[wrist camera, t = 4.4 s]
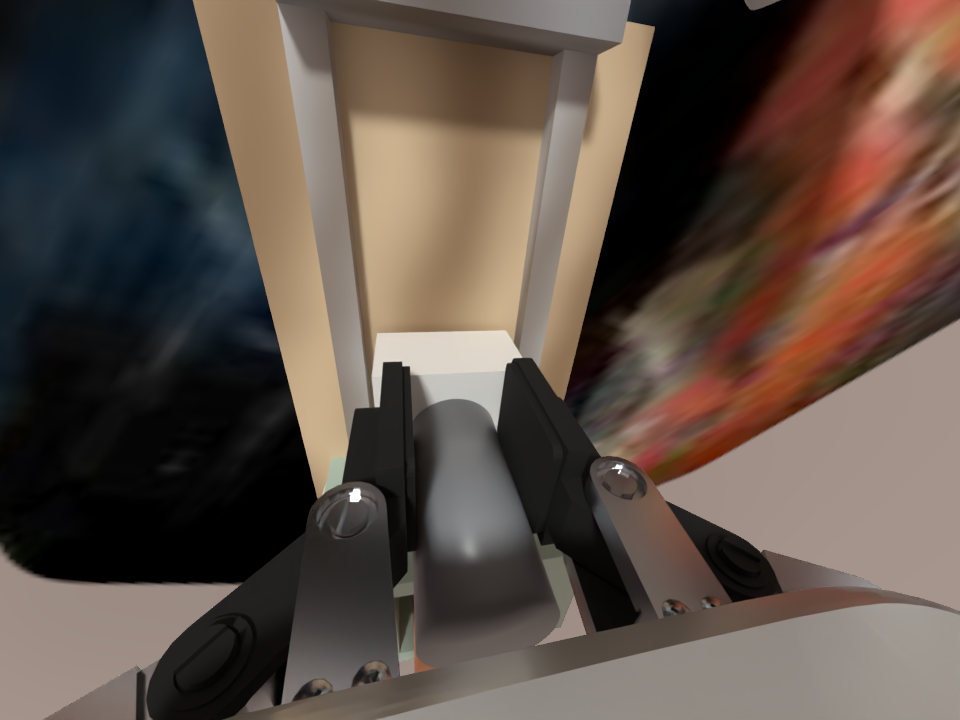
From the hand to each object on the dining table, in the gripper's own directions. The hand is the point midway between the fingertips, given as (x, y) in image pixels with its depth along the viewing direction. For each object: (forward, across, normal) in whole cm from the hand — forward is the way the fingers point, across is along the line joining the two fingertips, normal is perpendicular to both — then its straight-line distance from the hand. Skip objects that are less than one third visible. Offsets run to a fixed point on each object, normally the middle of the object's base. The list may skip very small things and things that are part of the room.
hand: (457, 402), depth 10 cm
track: (+5, 0, +1) cm, 6 cm away
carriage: (+4, 0, +2) cm, 4 cm away
